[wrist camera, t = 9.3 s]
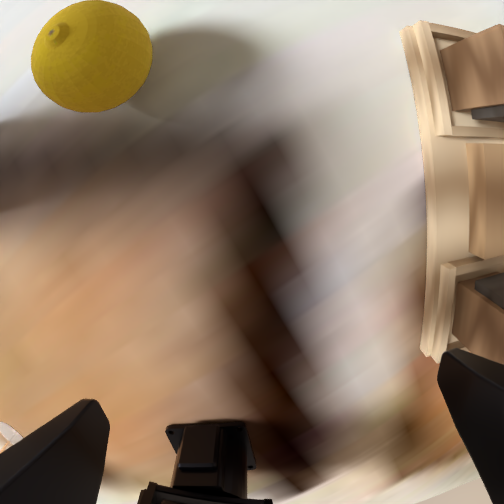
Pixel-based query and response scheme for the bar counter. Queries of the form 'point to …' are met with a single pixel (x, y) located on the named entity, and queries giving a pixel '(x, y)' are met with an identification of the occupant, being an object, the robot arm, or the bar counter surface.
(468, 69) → the beige cardboard cube
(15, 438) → the wineglass
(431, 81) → the rail
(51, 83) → the lemon
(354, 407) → the bar counter surface
